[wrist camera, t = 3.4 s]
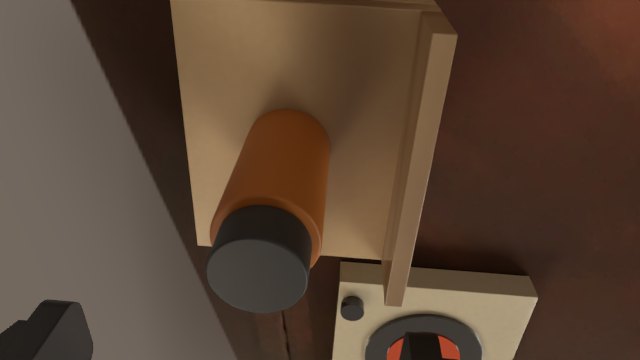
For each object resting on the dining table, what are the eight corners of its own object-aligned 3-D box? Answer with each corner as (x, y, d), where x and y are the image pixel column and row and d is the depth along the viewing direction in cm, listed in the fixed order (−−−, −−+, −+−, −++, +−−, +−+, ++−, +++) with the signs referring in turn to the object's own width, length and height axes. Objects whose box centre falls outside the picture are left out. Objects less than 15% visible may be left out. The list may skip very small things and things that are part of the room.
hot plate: (329, 377, 40) (327, 408, 38) (340, 260, 33) (339, 290, 31) (484, 390, 40) (492, 423, 37) (529, 276, 33) (542, 306, 30)
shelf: (228, 173, 30) (178, 289, 21) (215, -36, 23) (136, 12, 15) (388, 185, 29) (402, 307, 21) (420, -23, 23) (458, 34, 15)
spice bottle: (248, 179, 21) (200, 316, 15) (245, 105, 20) (188, 223, 13) (327, 185, 21) (315, 325, 15) (333, 111, 19) (321, 234, 13)
